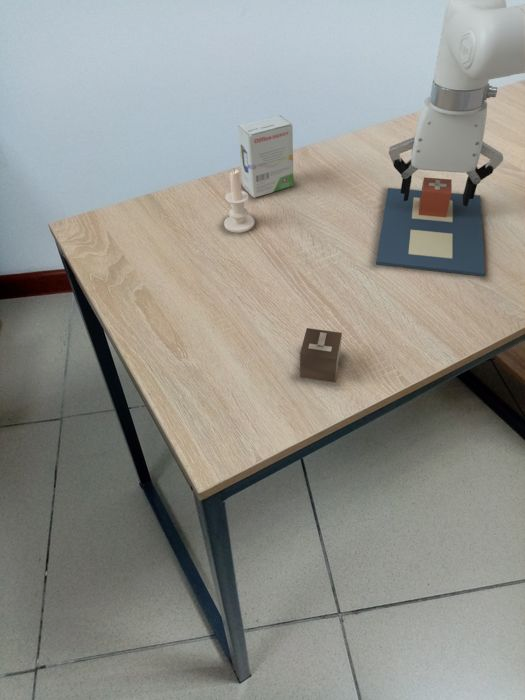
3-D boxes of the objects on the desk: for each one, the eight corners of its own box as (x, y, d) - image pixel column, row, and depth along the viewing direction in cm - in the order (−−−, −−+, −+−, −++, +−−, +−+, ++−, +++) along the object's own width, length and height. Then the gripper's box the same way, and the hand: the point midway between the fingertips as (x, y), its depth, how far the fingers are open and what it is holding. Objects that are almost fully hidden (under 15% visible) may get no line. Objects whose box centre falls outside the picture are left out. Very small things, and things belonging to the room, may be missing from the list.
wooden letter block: (339, 356, 70) (342, 332, 66) (334, 382, 67) (336, 358, 63) (306, 351, 71) (306, 327, 67) (299, 377, 68) (299, 352, 64)
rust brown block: (446, 203, 92) (451, 178, 88) (445, 217, 89) (451, 192, 86) (419, 200, 93) (424, 176, 89) (418, 214, 90) (423, 190, 86)
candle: (219, 229, 91) (212, 173, 83) (232, 213, 94) (227, 158, 86) (246, 235, 89) (241, 179, 82) (259, 219, 92) (256, 163, 85)
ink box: (253, 199, 97) (249, 136, 88) (241, 186, 100) (236, 124, 92) (294, 186, 99) (294, 123, 91) (281, 174, 102) (280, 112, 94)
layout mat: (479, 198, 94) (480, 194, 93) (483, 276, 79) (485, 272, 79) (387, 190, 97) (388, 187, 96) (375, 264, 82) (376, 260, 82)
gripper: (518, 86, 78) (488, 191, 90) (398, 81, 81) (384, 183, 93) (523, 108, 73) (490, 216, 85) (394, 101, 76) (381, 206, 88)
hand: (435, 199), depth 89 cm, fingers open, 9 cm apart
